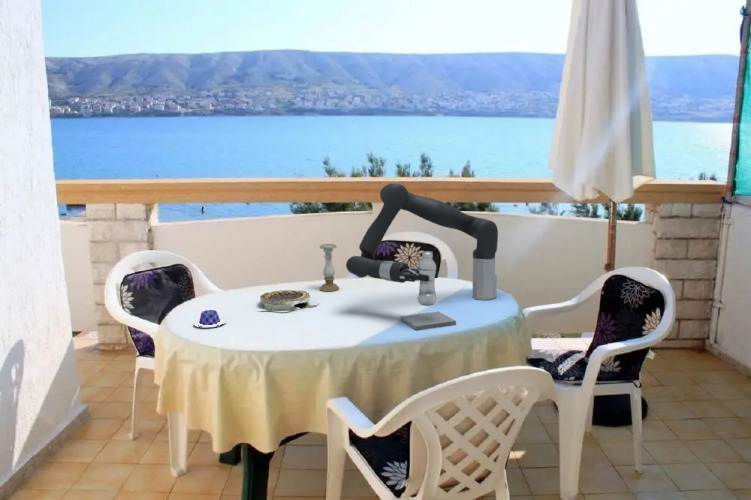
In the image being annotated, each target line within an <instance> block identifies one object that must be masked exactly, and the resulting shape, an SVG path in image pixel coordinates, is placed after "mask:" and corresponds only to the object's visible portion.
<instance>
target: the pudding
mask: <svg viewBox="0 0 751 500" xmlns="http://www.w3.org/2000/svg"><path fill="white" fill-rule="evenodd" d="M220 319H221V318H220V316H219V313H218V311H217V310H216V309H206V310H204V311H201V313H200V317H199V320H198V321H199V323H200V324H203V325H213V324H217V323H218V322H220Z"/></svg>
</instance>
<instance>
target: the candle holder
mask: <svg viewBox="0 0 751 500" xmlns="http://www.w3.org/2000/svg"><path fill="white" fill-rule="evenodd" d="M336 248H337V244H334V243H325V244H320V245H319V249H322V250H323V252H324V254H325V255H324V259H325V264H324V265H325V266H324V268H323V271H322V274H323V276H324V278H323V280H324V281H325V283H323V284H322V285H321V286H320V287H319V291H321V292H329V293H331V292H337V291H339V290H340V287H339V285H337V284H336V283H334V281H335V277H334V276H335V274H336V271H335V268H334V265H333V262H332V261H333V259H332V258H333V254H332V252H333V251H334V249H336Z"/></svg>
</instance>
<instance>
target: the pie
mask: <svg viewBox="0 0 751 500" xmlns="http://www.w3.org/2000/svg"><path fill="white" fill-rule="evenodd" d="M259 299H260V300H259V301H260V302H261V303H262V304H263V307H264V306H265V307H264V308H267V309H266V310H268V309H272V310H271V311H272V313H275V311H280V312H279V313H281V314H282V313H283V314H287V313H290V312H292V311H293V312H296V311H301V308H300V307H297V306H295V305H299V304H305V307H306V308H315V307H318V304H316V305H314V304H309V301H310V299H311V294H310V292H308V291H306V290H294V289H282V290H274V291H270V292H265V293H264V294H263V293H262V294H260V296H259ZM281 311H284V312H281Z"/></svg>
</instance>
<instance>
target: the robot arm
mask: <svg viewBox="0 0 751 500" xmlns="http://www.w3.org/2000/svg"><path fill="white" fill-rule="evenodd" d="M379 197H380V200H381V202H382V203H383V205H382V208H381V210H380V211H379V213H378V215H377V216H376V217H375V219H374V221H373V222H372V223H371V224H370V226H369V227H368V228H367V230H366V232H365V234H364V236H363V238H362V239H361V241H360V244H359V246H358V248H359V250H360V252H361V253H360V255H353V256H351V257H349V258H348V259H347V260H346V263H345V264H346V265H345V266H346V270H347V271H348V272H349V273H350V274H352V275H354V276H356V277H358V278H362V279H363V278H365V277H367V276H368V277H370V278H373V279H378V280H384V281H387V282H395V283H401V284H404V283H405V282H412V283H415V282H420V281H426V282H428V281H429V275H422V274H420V275H419V270H418V266H417V268H416V267H411V268H410V267H409V265H408V264H407V263H406V262H399V261H394V260H380V259H379V260H377V259H375V257H376V252H377V251H378V249H379V247H380V245H381V243H382V241H383V238H384V237H385V235H386V234H387V231H388V230H389V228H390V226H391V225H392V223H393V221H394V220H395V218H396V216H397V215H398V214H399V212H400V211H401V210H403V211H407V212H409V213H411V214H413V215H415V216H417V217H419V218H421V219H423V220H425V221H428V222H430V223H432V224H435V225H438V226H441V227H443V228H446V229H447V228H448V229H453V230H456V231H457V230H458V231H459V232H462V233H464V234H466V235H468V236H470V237H472V238H473V239H475V240H476V247H475V249H474V250H473V251H472V298H473V299H475V300H480V301H481V300H483V301H488V300H493V299H497V298H498V297H497V296H498V295H497V293H498V292H497V291H498V289H497V286H498V284H497V283H498V276H497V274H496V253H497V251H498V237H499V236H498V235H499V231H498V226H497V223H495V222H494V221H492V220H490V219H487V218H481V217H478V216H473V215H469V214H466V213H464V212H462V211H460V210H459V209H458V208H456V207H455V206H453V205H451V204H448V203H447V202H443V201H441V200H437V199H434V198H431V197H427V196H421V195H417V194H414V193H412V192H409V191H408V189H407V187H406V186H404V184H401V183H388V184H386V185H384V186H383V187H382V188H381V189H380V192H379ZM438 278H439V272H438V271H436V272H435V279H438Z"/></svg>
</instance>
